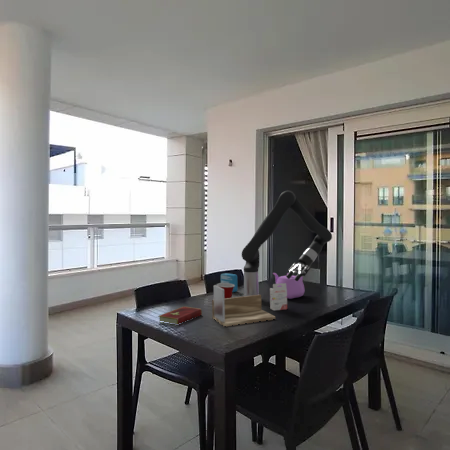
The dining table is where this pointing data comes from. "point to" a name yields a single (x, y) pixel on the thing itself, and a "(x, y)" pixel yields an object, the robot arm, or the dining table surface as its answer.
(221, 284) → the plastic cup
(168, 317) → the hardcover book
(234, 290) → the data package
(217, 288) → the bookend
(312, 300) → the dining table surface
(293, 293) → the teapot
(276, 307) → the ink cartridge box
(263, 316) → the shelf board
